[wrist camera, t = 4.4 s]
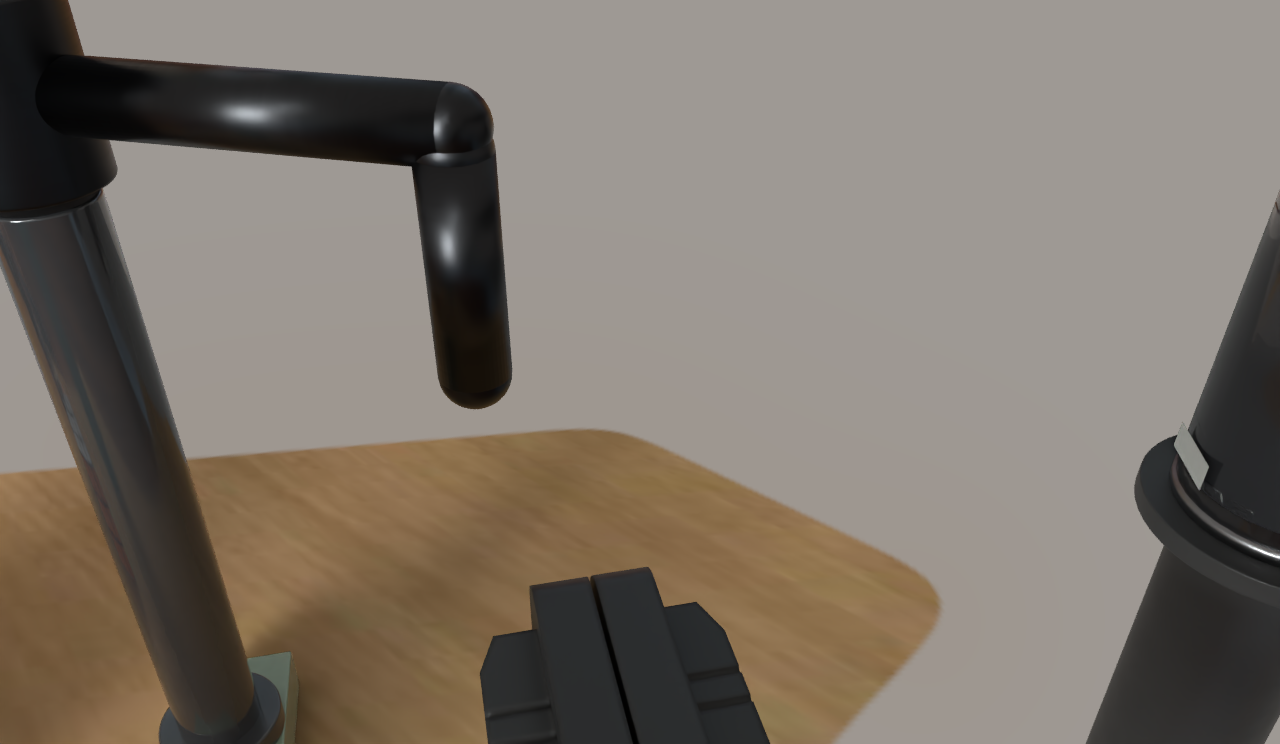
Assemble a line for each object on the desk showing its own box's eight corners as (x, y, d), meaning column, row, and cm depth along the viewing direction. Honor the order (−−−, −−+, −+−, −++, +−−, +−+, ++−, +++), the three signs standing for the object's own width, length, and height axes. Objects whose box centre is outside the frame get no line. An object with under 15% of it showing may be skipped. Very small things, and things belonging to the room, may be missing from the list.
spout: (-13, 381, 23) (-198, -58, 18) (81, 313, 25) (-57, -85, 20) (488, 450, 21) (443, -24, 16) (534, 369, 23) (507, -59, 18)
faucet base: (299, 681, 35) (154, 142, 24) (288, 837, 30) (100, 248, 19) (191, 699, 34) (-8, 153, 24) (162, 861, 29) (-105, 265, 19)
